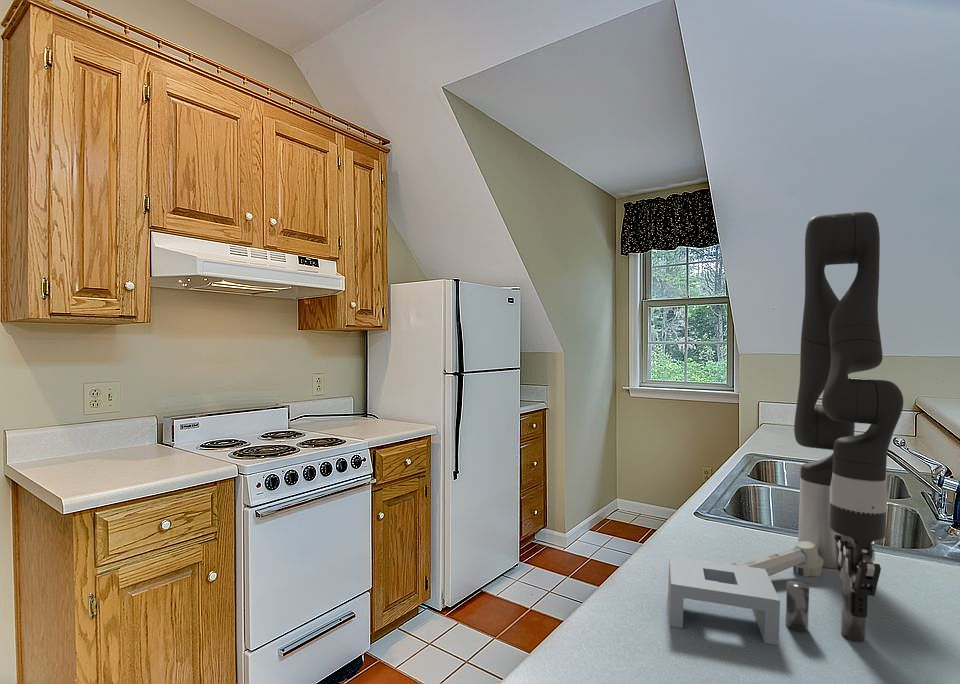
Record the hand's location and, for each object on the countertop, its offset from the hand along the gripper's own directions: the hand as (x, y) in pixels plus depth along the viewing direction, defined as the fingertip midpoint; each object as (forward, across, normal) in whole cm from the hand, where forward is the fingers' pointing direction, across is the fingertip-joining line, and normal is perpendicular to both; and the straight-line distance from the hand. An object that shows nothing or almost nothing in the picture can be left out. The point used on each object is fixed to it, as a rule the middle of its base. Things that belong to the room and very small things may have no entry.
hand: (853, 609), depth 88 cm
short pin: (+4, 0, +8) cm, 9 cm away
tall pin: (+4, 0, 0) cm, 4 cm away
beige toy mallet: (+5, +19, +8) cm, 21 cm away
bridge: (+4, -1, +20) cm, 20 cm away
